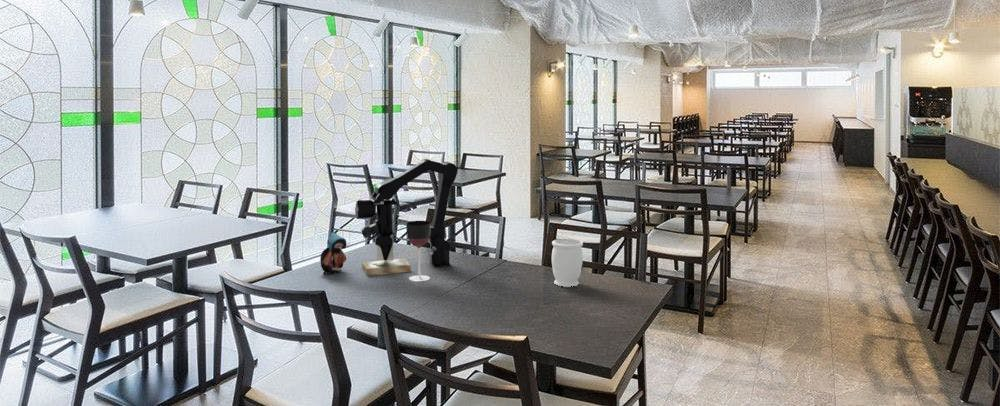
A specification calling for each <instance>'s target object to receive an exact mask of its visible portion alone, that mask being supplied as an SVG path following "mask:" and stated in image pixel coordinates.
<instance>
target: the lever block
mask: <svg viewBox="0 0 1000 406" xmlns="http://www.w3.org/2000/svg"><path fill="white" fill-rule="evenodd" d="M383 263H384V260H373V261H363V262H361V269H362V271H363V272H364V274H365V275H366V276H367V277H370V276H379V275H381V276H382V275H389V274H391V275H392V274H398V273H407V272H408V273H410V272H412V271H411V268H412V267H411V264H410V262H408V261H407V260H406V259H405V258H404V257H403V258H394V260H388V263H386V264H385V265H384V266H381V265H382V264H383Z"/></svg>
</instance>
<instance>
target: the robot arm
mask: <svg viewBox="0 0 1000 406" xmlns="http://www.w3.org/2000/svg"><path fill="white" fill-rule="evenodd" d="M428 171H430V172H434V173H437V178H438V187H437V195H436V200H435V205H434V211H433V216H432V221H431V222H430V235H429V239H428V241H427V243H428V244H430V246H431V252H430V253H429V262H430V264H431V266H432V267H434V268H439V267H441V268H442V267H448V266H451V262H450V251H451V244H450V243H449V242H448V241H447V240H446V231H445V230H446V229H445V219H446V214H447V209H448V204H449V198H450V192H451V189H452V186H453V184H454V183H455V181H456V179H457V176H458V173H459V169H458V167H457V166H456V164H454V163H452V162H450V161H443V162H439V161H434V160H431V159H428V158H423V159H421V161H420V162H418V163H417V164H414V165H413V166H411V167H410V168H408V169H406V170H404V171H403V172H401V173H399V174H398V175H397V176H395V177H392V178H389V179H385V180H382V181H380V182H378V183H377V184H376V185H375V187H374V192H373V193H372V194H371V196H370V198H369V199H356V200H355V202H356V203H355V208H354V213H355V218H356V220H360V219H362V220H363V219H373V218H374V217H375V216H376V220H375V223H372V224H369V225H366V226H363V227H362V228H361V229H360V232H361V235H363V238H364V239H367V238H368V237H371V236H373V235H375V236H376V237H374V238H375V240H374V245H376V246H377V245H378V246H379V247H380V248H381V251H382V255H383V259H384V260H387V259H388V256H389V253H390V250H391V248H392V245H394V239H395V234H396V233H395V232H396V231H395V228H394V226H393V225H394V223H393V222H394V219H393V215H394V213H393V212H394V211H393V206H394V205H395V206H396V205H398V204H399V203H398V202H397V201H396V199H395V198H393V197H394V196H395V195H396V194H397V193H399V191H400V189H401V188H403V187H404V186H405V185H407V184H409V183H410V182H412V181H413V180H415V179H417V178H418V177H420V176H422V175H423V174H426V172H428Z"/></svg>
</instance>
